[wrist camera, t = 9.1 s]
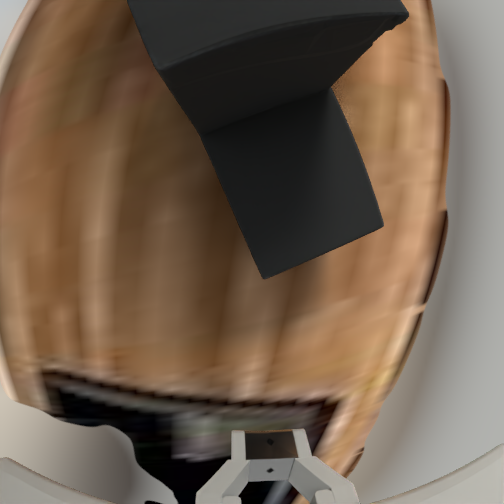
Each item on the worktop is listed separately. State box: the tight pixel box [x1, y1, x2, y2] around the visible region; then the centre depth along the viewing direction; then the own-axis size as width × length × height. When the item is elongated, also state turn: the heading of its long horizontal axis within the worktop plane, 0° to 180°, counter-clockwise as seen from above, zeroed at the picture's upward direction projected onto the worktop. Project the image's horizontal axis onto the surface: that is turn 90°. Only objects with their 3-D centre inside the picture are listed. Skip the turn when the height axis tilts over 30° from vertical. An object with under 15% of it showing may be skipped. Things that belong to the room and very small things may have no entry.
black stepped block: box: [127, 0, 409, 279], centre depth 15 cm, size 23×11×24 cm, turn 23°
